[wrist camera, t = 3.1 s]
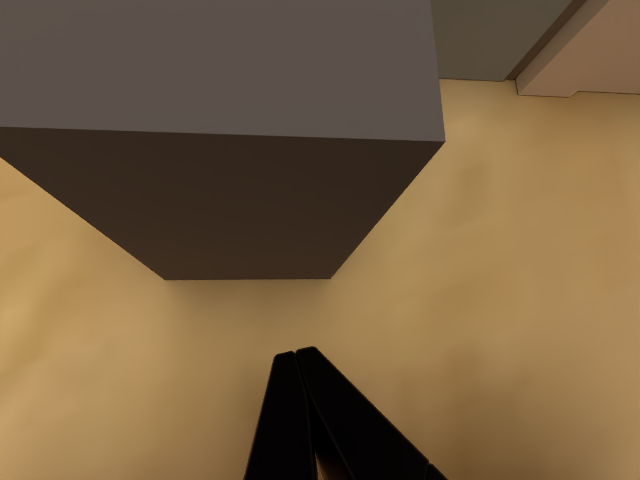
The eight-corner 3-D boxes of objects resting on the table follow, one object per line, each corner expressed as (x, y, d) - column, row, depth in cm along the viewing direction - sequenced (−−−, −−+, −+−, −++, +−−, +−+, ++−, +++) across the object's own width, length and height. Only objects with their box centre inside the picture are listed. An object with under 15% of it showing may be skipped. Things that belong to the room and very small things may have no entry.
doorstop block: (330, 278, 16) (445, 140, 6) (164, 280, 16) (-44, 124, 5) (324, 112, 18) (405, -224, 8) (175, 106, 17) (37, -274, 7)
